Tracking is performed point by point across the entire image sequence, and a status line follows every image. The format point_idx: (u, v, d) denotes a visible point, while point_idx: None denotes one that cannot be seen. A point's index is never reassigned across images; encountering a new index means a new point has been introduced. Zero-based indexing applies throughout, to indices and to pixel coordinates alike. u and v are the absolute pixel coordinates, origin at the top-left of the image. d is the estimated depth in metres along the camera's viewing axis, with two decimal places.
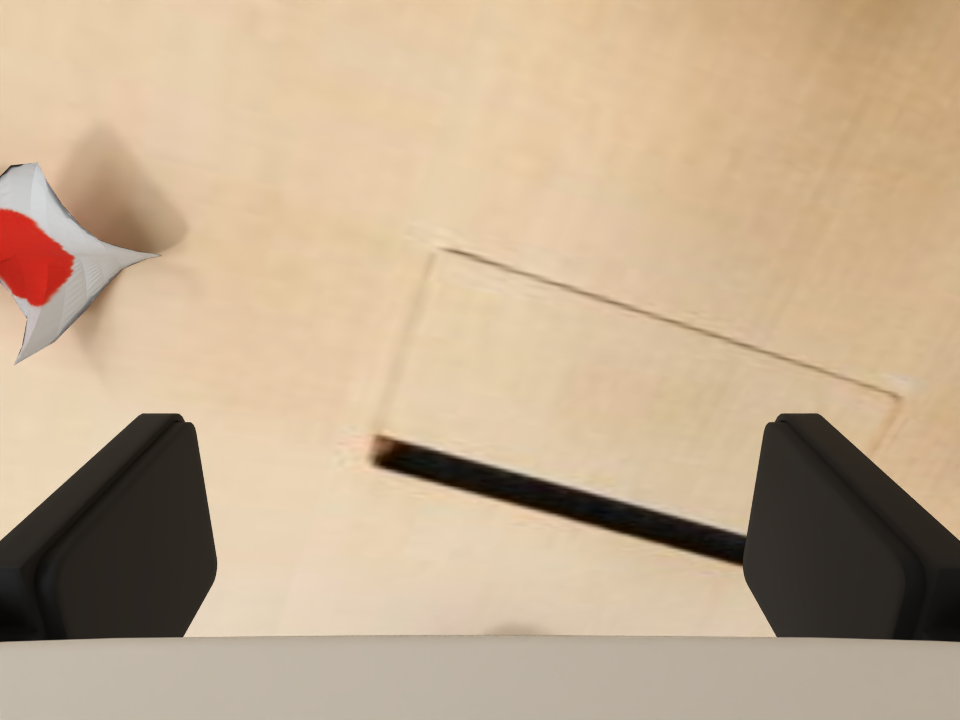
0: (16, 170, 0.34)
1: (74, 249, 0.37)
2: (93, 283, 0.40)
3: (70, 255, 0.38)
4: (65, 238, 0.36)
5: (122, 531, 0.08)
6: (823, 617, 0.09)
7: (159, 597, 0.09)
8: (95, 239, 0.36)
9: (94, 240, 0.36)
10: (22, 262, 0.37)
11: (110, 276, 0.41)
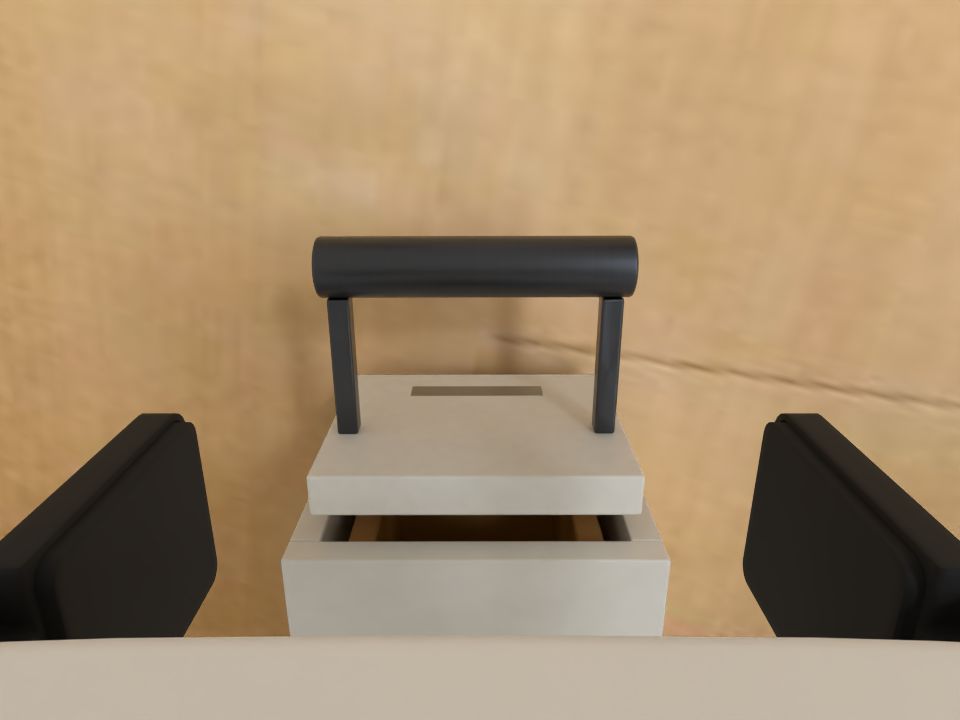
0: None
1: None
2: None
3: None
4: None
5: (122, 531, 0.08)
6: (823, 617, 0.09)
7: (159, 597, 0.09)
8: None
9: None
10: None
11: None
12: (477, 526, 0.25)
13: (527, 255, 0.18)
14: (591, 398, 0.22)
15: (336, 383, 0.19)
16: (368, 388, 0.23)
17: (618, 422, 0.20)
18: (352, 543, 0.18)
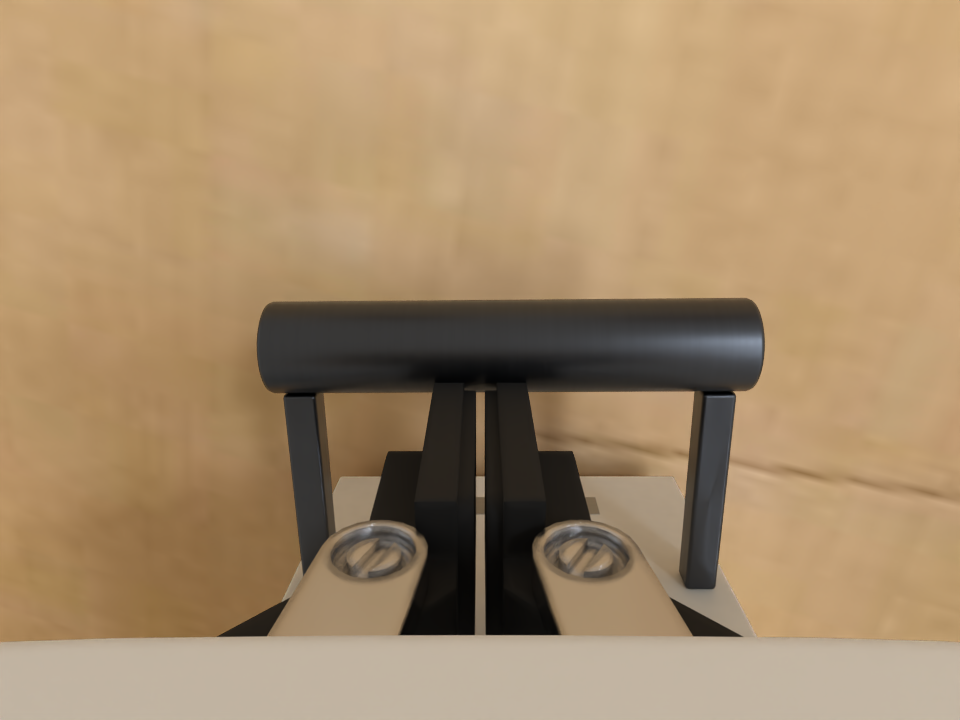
0: None
1: None
2: None
3: None
4: None
5: None
6: None
7: None
8: None
9: None
10: None
11: None
12: None
13: (589, 331, 0.11)
14: (669, 519, 0.16)
15: (300, 517, 0.13)
16: (356, 500, 0.17)
17: (717, 566, 0.14)
18: None
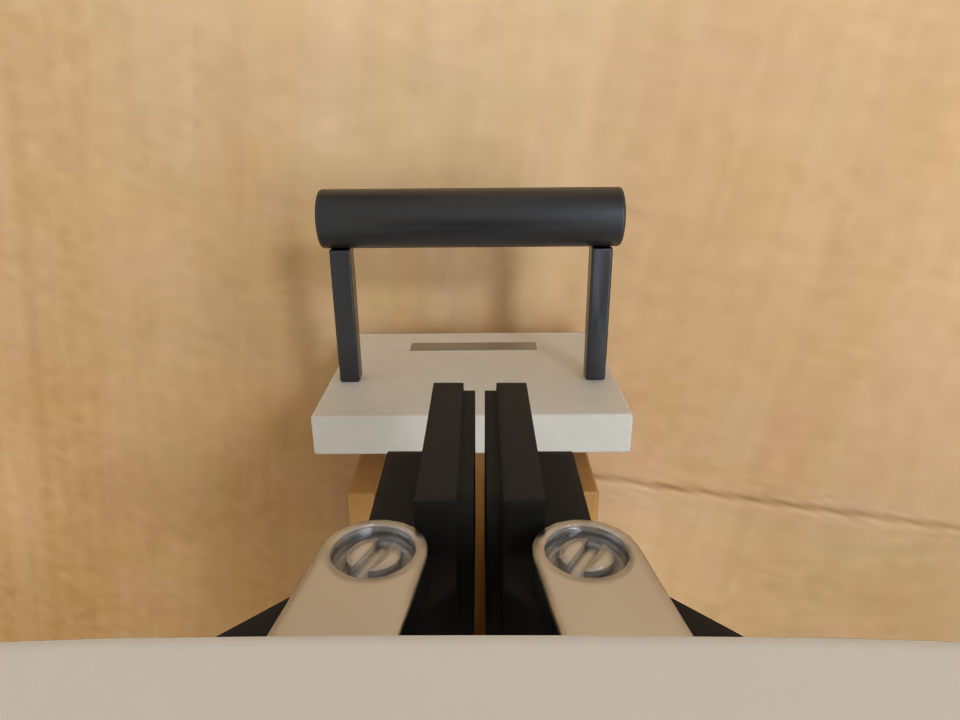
0: None
1: None
2: None
3: None
4: None
5: None
6: (486, 558, 0.10)
7: None
8: None
9: None
10: None
11: None
12: (475, 481, 0.26)
13: (520, 204, 0.18)
14: (583, 351, 0.23)
15: (338, 332, 0.20)
16: (369, 345, 0.24)
17: (609, 371, 0.21)
18: None
